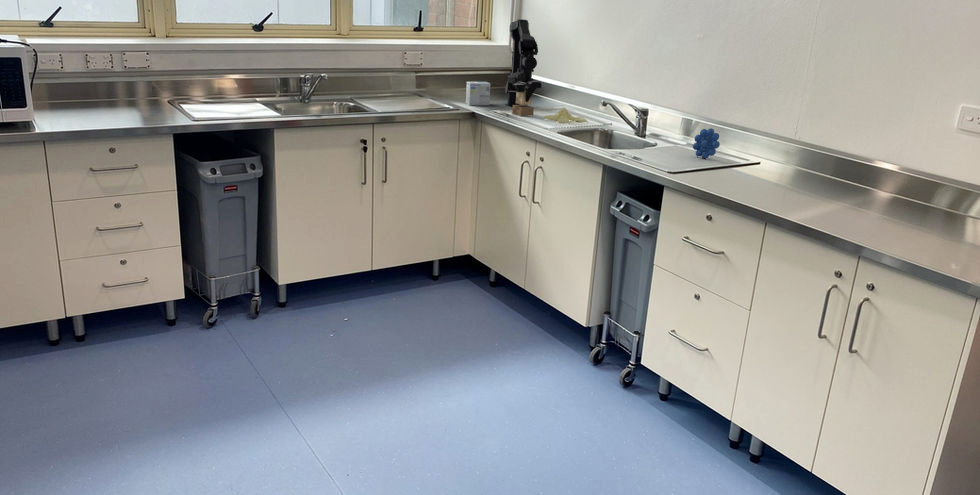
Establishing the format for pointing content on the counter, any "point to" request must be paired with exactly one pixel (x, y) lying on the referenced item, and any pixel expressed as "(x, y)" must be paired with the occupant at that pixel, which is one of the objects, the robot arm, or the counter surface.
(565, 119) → the cloth
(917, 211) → the counter surface
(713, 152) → the blue flower shape
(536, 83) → the robot arm
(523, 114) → the walnut base block
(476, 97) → the light bulb box
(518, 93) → the oak cube
